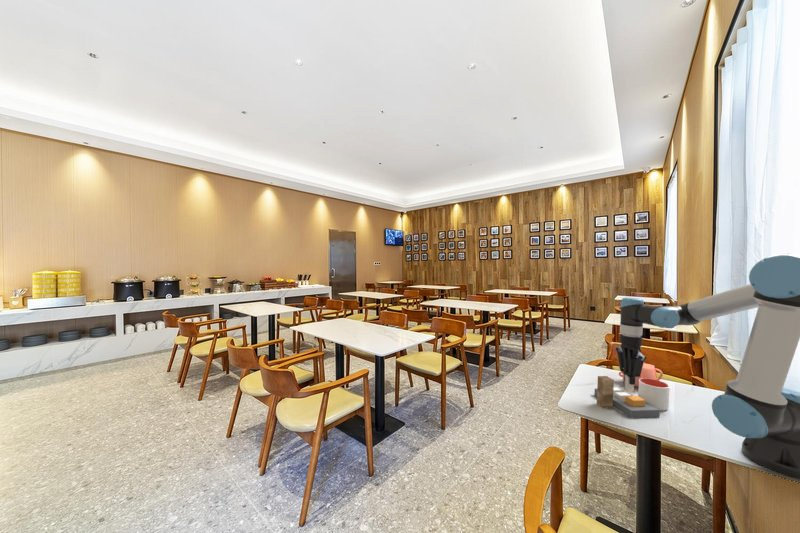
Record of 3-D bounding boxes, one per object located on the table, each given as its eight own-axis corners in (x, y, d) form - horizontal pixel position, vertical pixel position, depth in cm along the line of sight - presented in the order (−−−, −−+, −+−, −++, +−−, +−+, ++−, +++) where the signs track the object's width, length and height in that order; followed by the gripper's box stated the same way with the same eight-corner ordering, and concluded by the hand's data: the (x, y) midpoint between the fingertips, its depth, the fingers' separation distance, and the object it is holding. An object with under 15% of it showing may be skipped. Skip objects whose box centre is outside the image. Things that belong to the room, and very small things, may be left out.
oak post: (612, 408, 127) (613, 379, 126) (603, 408, 126) (604, 379, 126) (605, 403, 131) (606, 376, 130) (596, 403, 130) (597, 376, 130)
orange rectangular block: (644, 408, 122) (645, 400, 122) (633, 408, 122) (633, 400, 122) (636, 403, 126) (636, 395, 126) (625, 403, 126) (625, 395, 126)
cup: (674, 413, 123) (675, 389, 123) (646, 410, 125) (647, 386, 125) (658, 401, 133) (659, 379, 133) (633, 399, 135) (634, 377, 135)
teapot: (635, 393, 141) (637, 366, 141) (612, 379, 158) (613, 355, 157) (669, 394, 141) (670, 367, 140) (641, 380, 157) (642, 355, 157)
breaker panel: (659, 417, 120) (660, 406, 120) (631, 418, 119) (631, 406, 119) (619, 394, 140) (619, 384, 140) (594, 395, 139) (594, 385, 139)
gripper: (653, 339, 120) (651, 397, 121) (626, 331, 133) (624, 384, 134) (635, 339, 120) (634, 398, 120) (610, 331, 133) (608, 384, 133)
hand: (629, 390), depth 127 cm, fingers closed
